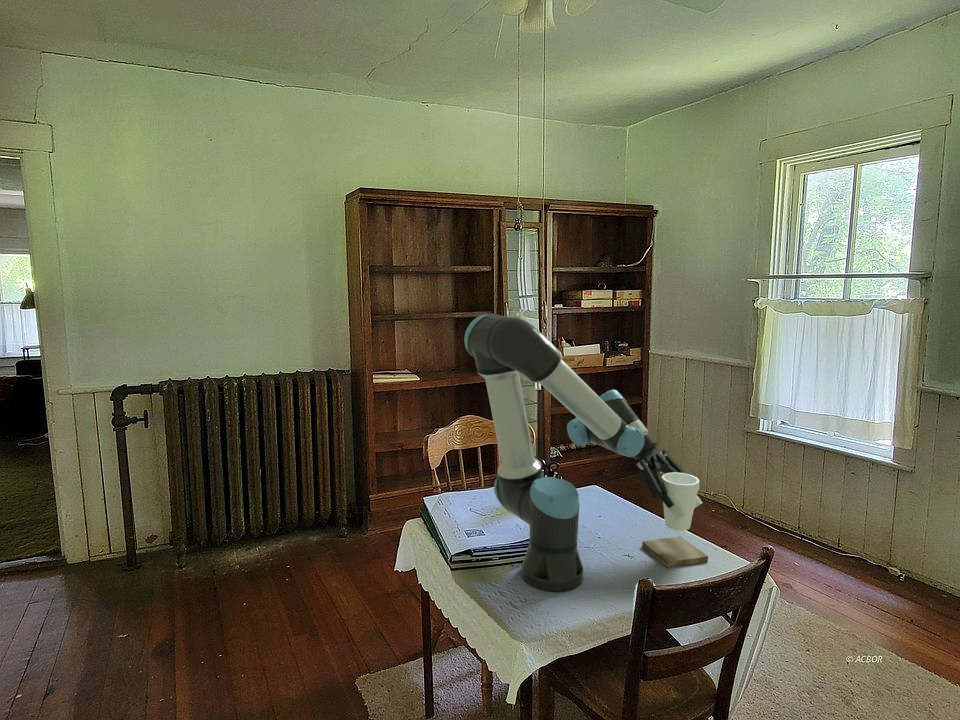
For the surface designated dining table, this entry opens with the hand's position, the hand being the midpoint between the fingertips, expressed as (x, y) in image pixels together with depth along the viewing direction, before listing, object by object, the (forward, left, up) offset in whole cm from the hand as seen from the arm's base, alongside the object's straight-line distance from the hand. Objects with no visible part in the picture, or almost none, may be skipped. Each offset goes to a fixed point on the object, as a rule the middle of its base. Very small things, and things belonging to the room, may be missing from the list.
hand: (690, 511), depth 156 cm
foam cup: (-2, +3, -5) cm, 6 cm away
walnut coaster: (-2, +3, -13) cm, 13 cm away
